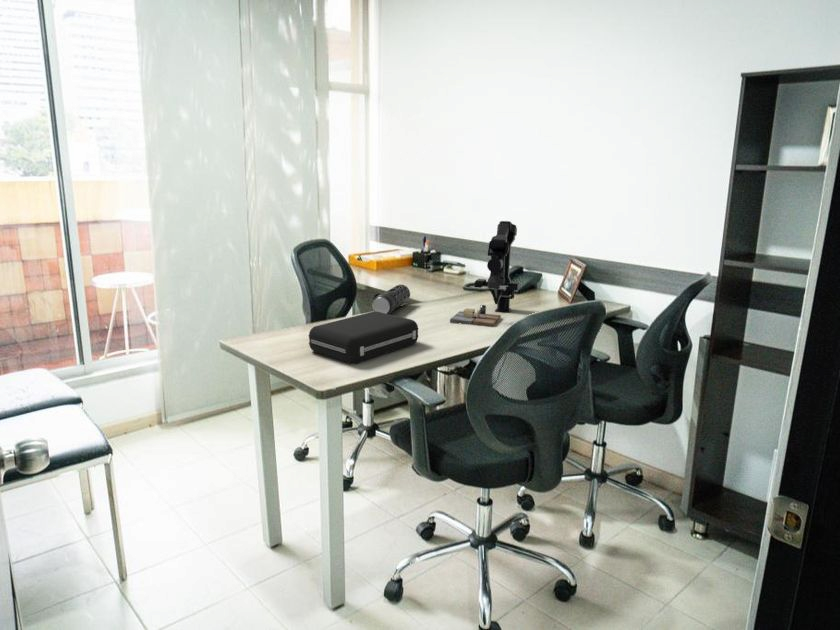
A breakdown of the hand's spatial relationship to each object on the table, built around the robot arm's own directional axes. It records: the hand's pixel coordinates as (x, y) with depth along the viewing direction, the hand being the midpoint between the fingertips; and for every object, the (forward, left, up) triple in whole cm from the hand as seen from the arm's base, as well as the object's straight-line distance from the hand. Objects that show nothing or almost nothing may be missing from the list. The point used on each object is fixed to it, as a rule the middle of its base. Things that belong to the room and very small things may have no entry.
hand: (496, 304), depth 268 cm
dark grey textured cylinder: (-2, -50, -9) cm, 50 cm away
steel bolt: (0, -9, -6) cm, 11 cm away
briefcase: (+52, -41, -9) cm, 67 cm away
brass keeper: (0, -11, -7) cm, 13 cm away
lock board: (0, -10, -8) cm, 13 cm away
